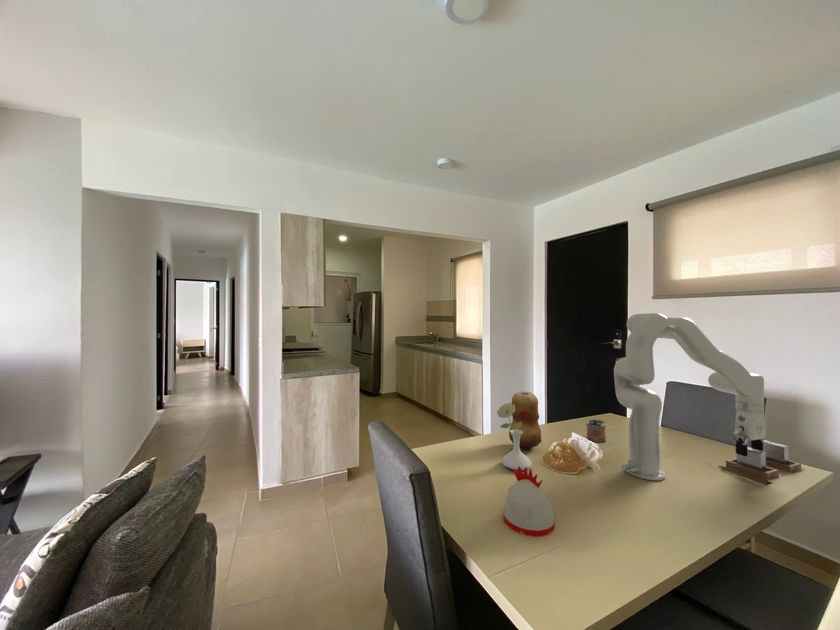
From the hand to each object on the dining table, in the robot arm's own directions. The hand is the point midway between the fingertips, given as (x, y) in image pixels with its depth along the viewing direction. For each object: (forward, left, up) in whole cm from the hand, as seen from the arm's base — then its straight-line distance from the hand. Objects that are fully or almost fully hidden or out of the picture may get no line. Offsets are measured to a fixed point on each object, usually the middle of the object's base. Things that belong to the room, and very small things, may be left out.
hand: (749, 453), depth 123 cm
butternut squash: (-61, +51, -8) cm, 80 cm away
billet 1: (0, 0, -6) cm, 6 cm away
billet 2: (+16, 0, -6) cm, 17 cm away
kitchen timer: (-95, +6, -8) cm, 96 cm away
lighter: (-23, +47, -8) cm, 53 cm away
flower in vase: (-77, +37, -8) cm, 86 cm away
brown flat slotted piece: (+8, 0, -8) cm, 11 cm away
